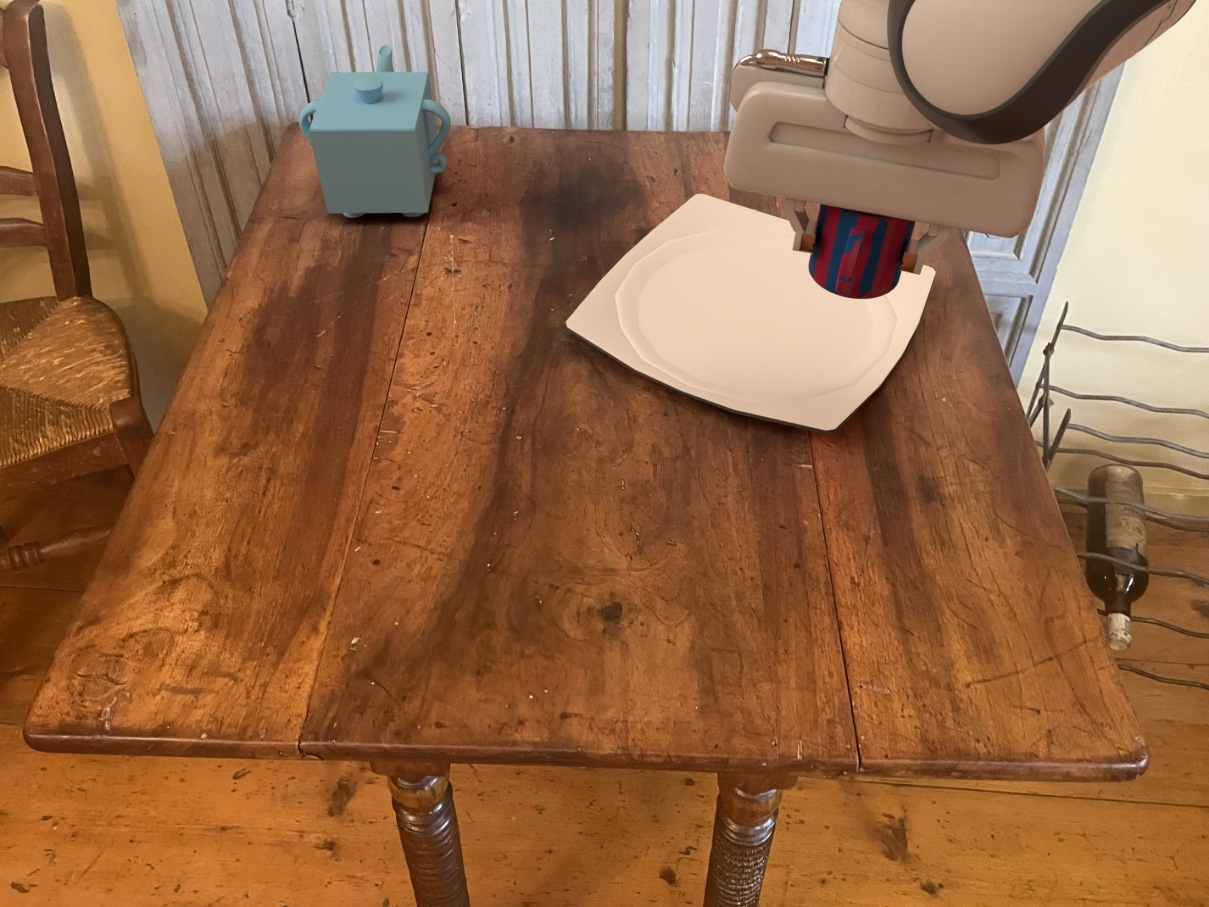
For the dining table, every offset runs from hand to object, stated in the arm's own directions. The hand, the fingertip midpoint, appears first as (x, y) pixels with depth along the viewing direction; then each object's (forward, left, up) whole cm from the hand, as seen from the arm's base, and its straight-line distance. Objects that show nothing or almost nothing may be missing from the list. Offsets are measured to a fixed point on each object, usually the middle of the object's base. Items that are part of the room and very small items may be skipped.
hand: (857, 258), depth 70 cm
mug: (0, 0, -3) cm, 3 cm away
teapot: (+52, -24, -18) cm, 60 cm away
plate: (+8, -13, -18) cm, 24 cm away
